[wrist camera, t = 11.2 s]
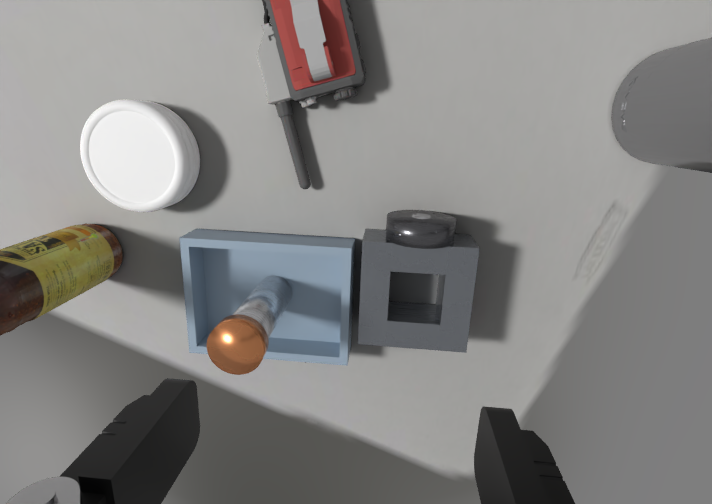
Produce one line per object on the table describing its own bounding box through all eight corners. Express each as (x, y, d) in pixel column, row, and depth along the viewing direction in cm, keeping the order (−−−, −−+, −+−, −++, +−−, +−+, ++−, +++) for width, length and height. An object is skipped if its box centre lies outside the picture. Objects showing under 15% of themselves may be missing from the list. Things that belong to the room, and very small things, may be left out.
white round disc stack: (209, 116, 40) (192, 116, 36) (195, 217, 43) (178, 225, 39) (106, 88, 40) (79, 85, 36) (99, 191, 43) (74, 197, 39)
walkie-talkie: (233, -43, 36) (298, 189, 41) (211, -65, 32) (287, 197, 37) (333, -76, 34) (387, 168, 40) (324, -104, 30) (386, 173, 36)
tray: (354, 238, 42) (351, 248, 38) (350, 347, 45) (347, 365, 42) (196, 228, 43) (179, 237, 39) (204, 335, 46) (189, 352, 43)
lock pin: (296, 272, 43) (262, 325, 32) (296, 313, 44) (263, 376, 33) (253, 270, 43) (204, 321, 32) (254, 310, 44) (208, 372, 33)
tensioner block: (473, 211, 40) (486, 226, 34) (459, 329, 43) (468, 361, 38) (366, 205, 41) (362, 219, 35) (361, 322, 44) (356, 352, 38)
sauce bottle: (107, 212, 43) (-118, 283, 24) (137, 267, 45) (-54, 375, 26) (55, 232, 44) (-199, 315, 25) (85, 286, 46) (-133, 402, 27)
